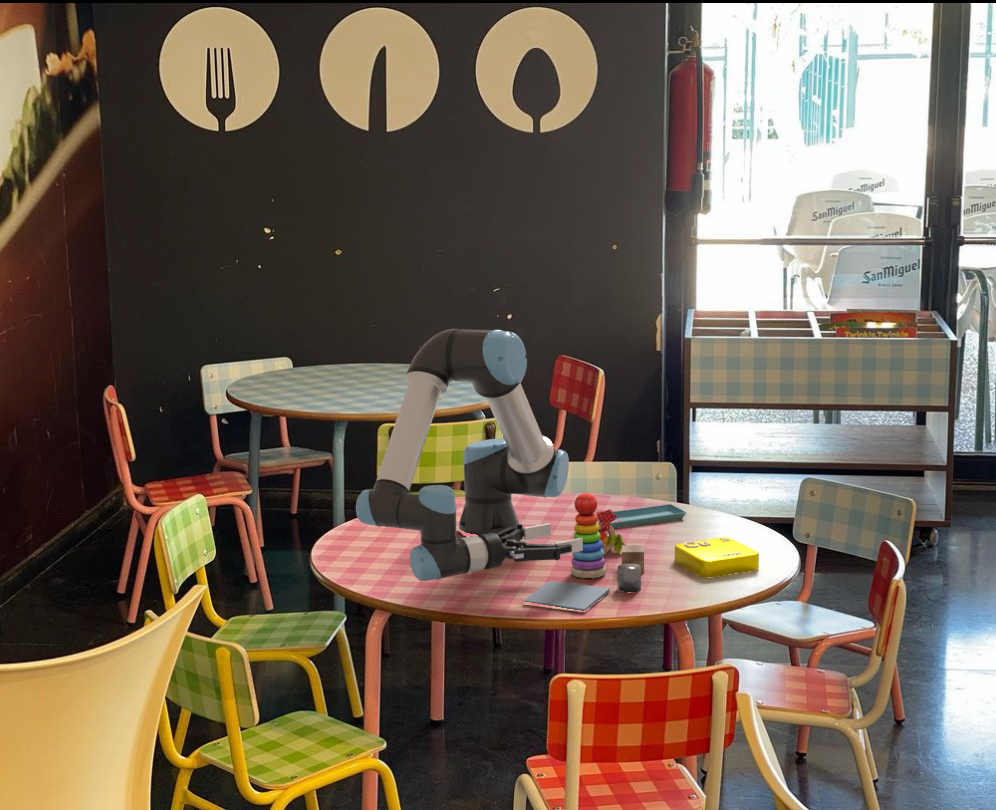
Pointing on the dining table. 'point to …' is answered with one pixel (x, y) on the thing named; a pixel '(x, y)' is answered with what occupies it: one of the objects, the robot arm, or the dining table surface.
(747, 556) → the element tile
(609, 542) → the bird rattle
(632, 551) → the walnut cube
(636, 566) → the graphite cylinder
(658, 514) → the rectangular tray
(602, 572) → the stacking toy
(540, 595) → the pad
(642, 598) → the dining table surface
